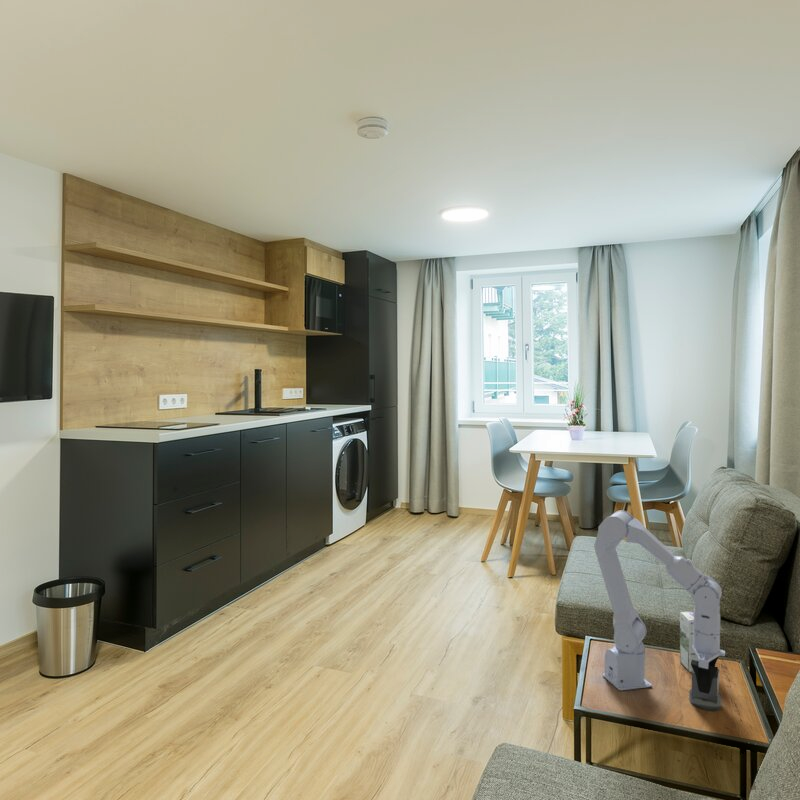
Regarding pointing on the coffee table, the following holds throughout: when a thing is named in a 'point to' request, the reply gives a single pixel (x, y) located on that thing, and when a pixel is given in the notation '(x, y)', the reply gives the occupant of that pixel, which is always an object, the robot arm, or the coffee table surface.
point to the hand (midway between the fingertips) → (705, 685)
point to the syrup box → (687, 640)
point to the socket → (713, 690)
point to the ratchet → (705, 703)
